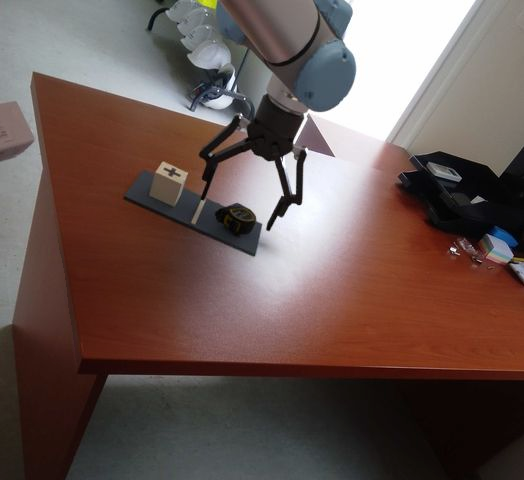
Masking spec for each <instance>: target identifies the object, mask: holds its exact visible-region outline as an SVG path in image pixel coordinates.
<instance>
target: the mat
mask: <svg viewBox="0 0 524 480" xmlns="http://www.w3.org/2000/svg"><path fill="white" fill-rule="evenodd" d="M154 176H155V173H153V172H151V171H149V170H147V169H142V171H141V172H140V173H139V174H138V176H137V177H136V179H135V180H134V181H133V183H132V184H131V186H130V187H129V189H128V190H127V191H126V192H125V194H124V195H123V199H124V200H125V201H128V202H130V203H133V204H135V205H137V206H139V207H142V208H144V209H146V210H147V211H151V212H153V213H155V214H157V215H158V216H159V215H160V216H162V217H164V218H165V219H168V220H171V221H173V222H176V223H178V224H180V225H182V226H184V227H187V228H189V229H191V230H193V231H196V232H198V233H200V234H203V235H204V236H207V237H209V238H211V239H214V240H216V241H218V242H220V243H223V244H225V245H227V246H230V247H232V248H234V249H236V250H237V251H240V252H243V253H245V254H247V255H250V256H252V257H255V256H256V255H257V250H258V246H259V242H260V238H261V237H260V236H261V233H262V229H263V223H261V222H260V221H257V220H256V224H255V226H254V228H253V230H252V231H251V232H250V233H249V234H245V235H241V234H236V233H234V232H232V231H230V230H228V229H227V228H226V227H225V226H224V224H223V223H220V222H218V221H217V220H216V216H215V213H216V212H215V211H218V210H219V209H220V208H222V207H226V205H223V204H220V203H218V202H216V201H213V200H212V199H209V198H207V197H205V200H204V201H203V200H201V199H200V198H201V196H202V194H199V193H196V192H194V191H192V190H190V189H188V188H186V187H183V190H182V193H181V195H180V197H179V199H178V201H177V203H176V205H175V206H174V207H173V206H171V205H169V204H167V203H164V202H162V201H160V200H158V199H155V198H153V197H151V196H149V194H150V190H151V186H152V183H153V179H154Z"/></svg>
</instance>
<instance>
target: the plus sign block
mask: <svg viewBox="0 0 524 480" xmlns="http://www.w3.org/2000/svg"><path fill="white" fill-rule="evenodd" d="M188 173H189V172H187V171H185V170H183V169H180V168H178V167H176V166H174V165H172V164H171V163H168V162H166V161H162V162H161V163H160V165H159V166H158V168H157V169H156V171H155V172H154V174H155V176H154V179H153V183H152V186H151V190H150V194H149V196H151V197H153V198H155V199H158V200H160V201H162V202H164V203H167V204H169V205H171V206H173V207H174V206H175V205H176V203H177V201H178V199H179V197H180V195H181V193H182V190H183V188H185V184H186V180H187V178H188Z"/></svg>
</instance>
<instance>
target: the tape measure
mask: <svg viewBox="0 0 524 480" xmlns="http://www.w3.org/2000/svg"><path fill="white" fill-rule="evenodd" d="M215 212H216V213H215V216H216V220H217V221H218V222H220V223H223V224H224V226H225V227H226V228H227V229H228V230H230V231H232V232H234V233H236V234H241V235H245V234H249V233H250V232H251V231H252V230H253V228H254V226H255V224H256V221H257V216H256V213H254V211H253V210H251V208H249V207H247V206H245V205H243V204H241V203H239V202H234V203H232V204H230V205H225V207H222V208H220V209H219V210H218V211H215Z"/></svg>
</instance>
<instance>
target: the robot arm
mask: <svg viewBox="0 0 524 480" xmlns="http://www.w3.org/2000/svg"><path fill="white" fill-rule="evenodd" d="M353 17H354V11H353V8H352V5H351V4H350V3H349V2H348V1H346V0H216V6H215V22H216V27H217V30H218V32H219V34H220V35H221V36H222V37H223V38H224V39H226V40H228V41H230V42H232V43H234V44H235V45H236V46H244V47H246V48H248V49H249V50H250V51H251V52H252V53H253V54H254V55H255V56H256V57H257V58H258V59H259V60H260V61H261V62H262V63H263V65H265V66H266V67H267V69H268V70H270V72H272V73H271V76H270V78H269V81H268V83H267V86H266V89H265V90H266V93H265V94H263V95H262V97H261V100H260V103H259V104H258V107H257V110H256V111H255V114H254V117H253V118H252V119H251V120H249V119H247V118H245V117H244V116H243V114H242V112H241V111H236V112H235V114H234V115H233V117H232V119H231V122H229V124H227V125H226V126H224V128H223V129H222V130H220V131H219V132H218V133H217V134H216V135H215V136H213V137H212V138H211V139H210V140H209V141H208V142H206V143H205V144H204V145H203V146H202V148H200V151H199V152H198V157H199V158H200V159H202V160H204V161H205V168H204V170H203V171H202V175H201V181H203V182H206V183H205V186H204V188H203V190H202V193H201V198H200V199H201V200H203V201H204V200H205V198H207V195H208V193H209V191H210V188H211V185H212V182H213V180H214V177H215V174H216V172H217V170H218V167H219V164H220V163H222V162H224V161H226V160H228V159H231V158H234V157H236V156H238V155H240V154H242V153H246V152H248V151H251V152H252V153H253V155H254V156H257V157H261V158H262V159H263V160H264V161H266V162H268V163H270V162H274V164H275V168H276V170H277V175H278V179H279V182H280V187H281V191H282V194H283V195H281V196H280V198H279V199H278V200H277V201H278V202H277V203H276V205H275V207H274V209H273V211H272V213H271V215H270V217H269V219H268V221H267V222H266V227H265V231H267V232H270V231H271V229H272V228H273V225H274V224H275V222H276V220H277V218H278V217H279V218H281V219H283V218H284V217H285V215H286V213H287V211H288V210H289V207H290V206H292V205H293V204H294V205H296V206H302V204H303V199H304V166H305V165H304V164H305V161H306V160H307V157H308V147H307V146H306V145H302V146H299V145H298V144H294V141H295V139H296V137H297V135H298V133H299V130H300V128H301V126H302V124H303V123H304V120H305V114H307V113H308V112H309V110H310V111H311V112H314V113H325V112H328V111H329V112H330V111H331V110H333V109H335V108H336V107H337V106H339V105H340V103H341V102H342V101H344V99H345V98H346V97H347V96H348V95H349V94H350V92H351V90H352V88H353V86H354V83H355V80H356V76H357V61H356V58H355V55H354V53H353V52H352V51H351V50H350V49H349V48H348V47H347V45H346V44H345V42H344V40H345V36H346V34H347V32H348V30H349V27H350V25H351V22H352V20H353ZM243 129H246V134H247V137H245V138H243V139H241V140H240V141H238V142H236V143H234V144H232V145H230V146H226V147H225V148H222V149H220V150H219V151H217V152H213V151H215V150H216V149H217V148H218V147H219V146H221V145H222V144H223V143H224V142H225V141H226V140H227V139H228V138H229V137H231V136H232V135H233V134H234V133H235V132H236V131H242V130H243ZM212 152H213V153H212ZM290 153H292V154H293V159H294V160H295V161H296V165H295V193H293V190H292V187H291V182H290V178H289V175H288V171H287V166H286V161H285V156H287V155H289V154H290Z"/></svg>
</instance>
